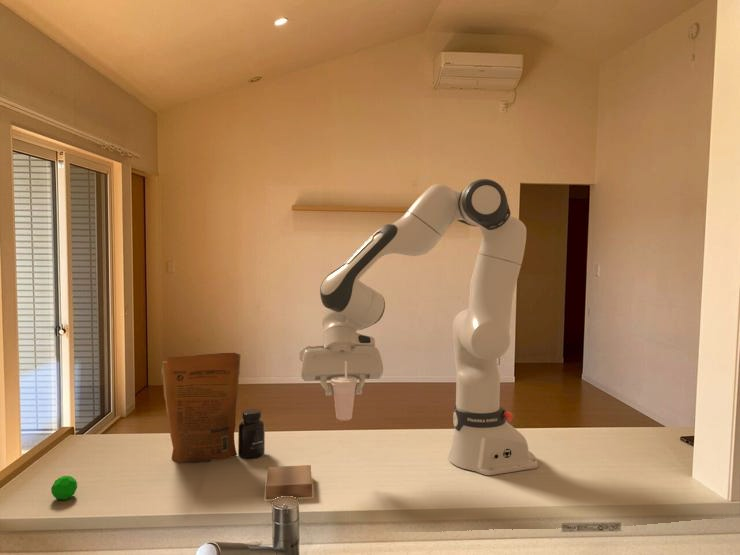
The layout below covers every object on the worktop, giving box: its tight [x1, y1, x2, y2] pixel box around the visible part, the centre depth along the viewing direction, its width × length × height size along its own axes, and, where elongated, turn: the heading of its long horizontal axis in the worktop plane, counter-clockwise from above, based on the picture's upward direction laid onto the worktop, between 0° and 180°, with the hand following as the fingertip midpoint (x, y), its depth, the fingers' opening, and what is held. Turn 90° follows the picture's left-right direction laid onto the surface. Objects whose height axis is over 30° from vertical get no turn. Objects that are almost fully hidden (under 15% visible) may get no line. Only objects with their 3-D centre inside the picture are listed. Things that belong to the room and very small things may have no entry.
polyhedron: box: [50, 475, 78, 501], centre depth 122 cm, size 5×5×5 cm
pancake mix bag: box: [161, 352, 241, 464], centre depth 143 cm, size 7×19×28 cm, turn 99°
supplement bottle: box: [237, 408, 266, 460], centre depth 146 cm, size 7×7×12 cm
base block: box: [265, 464, 312, 499], centre depth 127 cm, size 10×10×3 cm
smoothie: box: [330, 361, 358, 421], centre depth 134 cm, size 6×6×14 cm
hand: (343, 394), depth 134 cm, fingers closed on smoothie, 6 cm apart
